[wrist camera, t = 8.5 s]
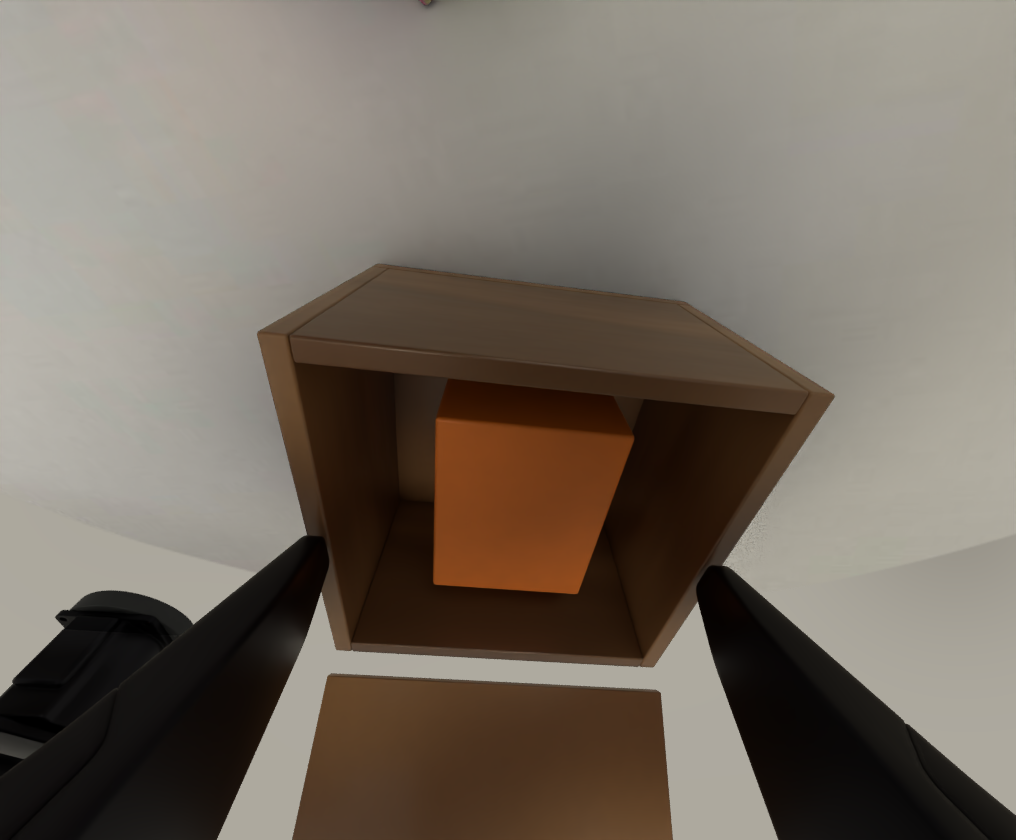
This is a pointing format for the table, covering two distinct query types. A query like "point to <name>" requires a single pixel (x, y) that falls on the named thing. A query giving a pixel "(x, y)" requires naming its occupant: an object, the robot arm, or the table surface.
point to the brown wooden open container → (540, 364)
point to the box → (425, 1)
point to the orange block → (523, 484)
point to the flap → (484, 762)
